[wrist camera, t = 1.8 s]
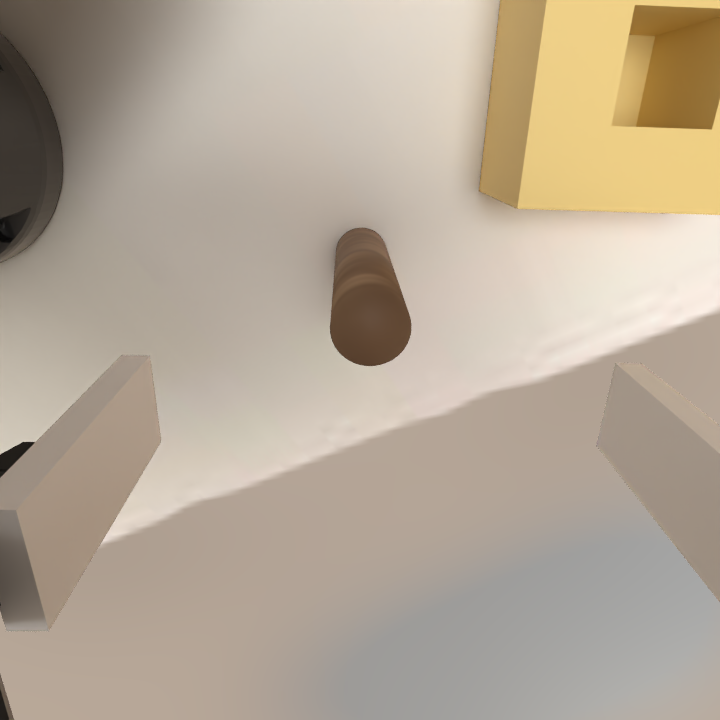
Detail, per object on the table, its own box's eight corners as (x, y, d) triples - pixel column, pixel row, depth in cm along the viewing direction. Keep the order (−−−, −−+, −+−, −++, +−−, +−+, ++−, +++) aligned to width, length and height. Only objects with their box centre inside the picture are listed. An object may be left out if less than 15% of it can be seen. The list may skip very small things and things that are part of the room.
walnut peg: (335, 277, 35) (329, 364, 22) (336, 227, 34) (330, 288, 21) (385, 279, 35) (408, 366, 22) (387, 228, 34) (414, 290, 21)
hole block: (478, 190, 33) (517, 208, 26) (506, -50, 28) (562, -113, 21) (672, 196, 33) (765, 216, 26) (731, -40, 29) (864, -98, 21)
